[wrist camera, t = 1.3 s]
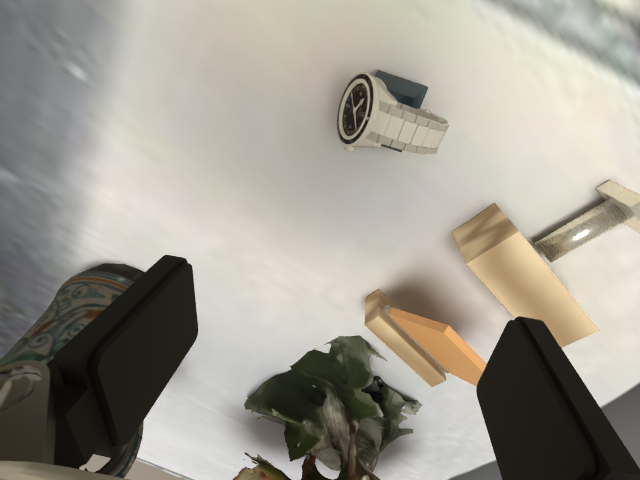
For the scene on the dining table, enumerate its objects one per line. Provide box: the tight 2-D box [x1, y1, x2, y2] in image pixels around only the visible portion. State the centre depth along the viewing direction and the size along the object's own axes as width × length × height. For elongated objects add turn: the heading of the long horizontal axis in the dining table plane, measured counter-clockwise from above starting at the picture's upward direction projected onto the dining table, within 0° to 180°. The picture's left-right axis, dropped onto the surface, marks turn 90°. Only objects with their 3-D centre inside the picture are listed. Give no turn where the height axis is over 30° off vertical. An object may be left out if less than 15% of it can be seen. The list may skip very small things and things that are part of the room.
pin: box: [535, 180, 640, 262], centre depth 31 cm, size 8×4×5 cm, turn 135°
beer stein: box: [0, 264, 145, 479], centre depth 37 cm, size 16×19×25 cm
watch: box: [337, 70, 449, 154], centre depth 26 cm, size 6×8×11 cm
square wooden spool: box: [365, 203, 600, 387], centre depth 36 cm, size 18×14×6 cm
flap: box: [383, 305, 487, 386], centre depth 34 cm, size 10×11×1 cm
